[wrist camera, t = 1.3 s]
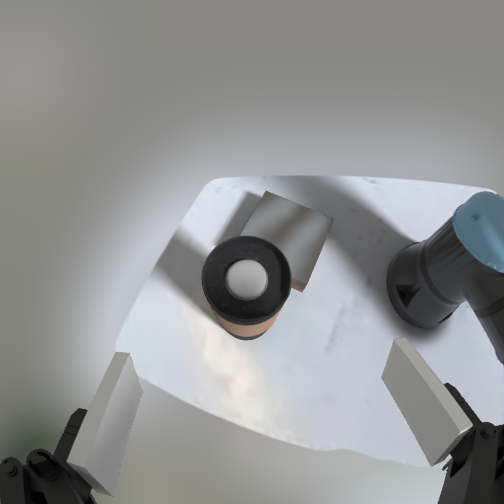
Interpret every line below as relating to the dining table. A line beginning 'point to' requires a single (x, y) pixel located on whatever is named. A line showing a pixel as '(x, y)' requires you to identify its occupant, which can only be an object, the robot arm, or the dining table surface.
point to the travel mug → (246, 284)
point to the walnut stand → (291, 233)
